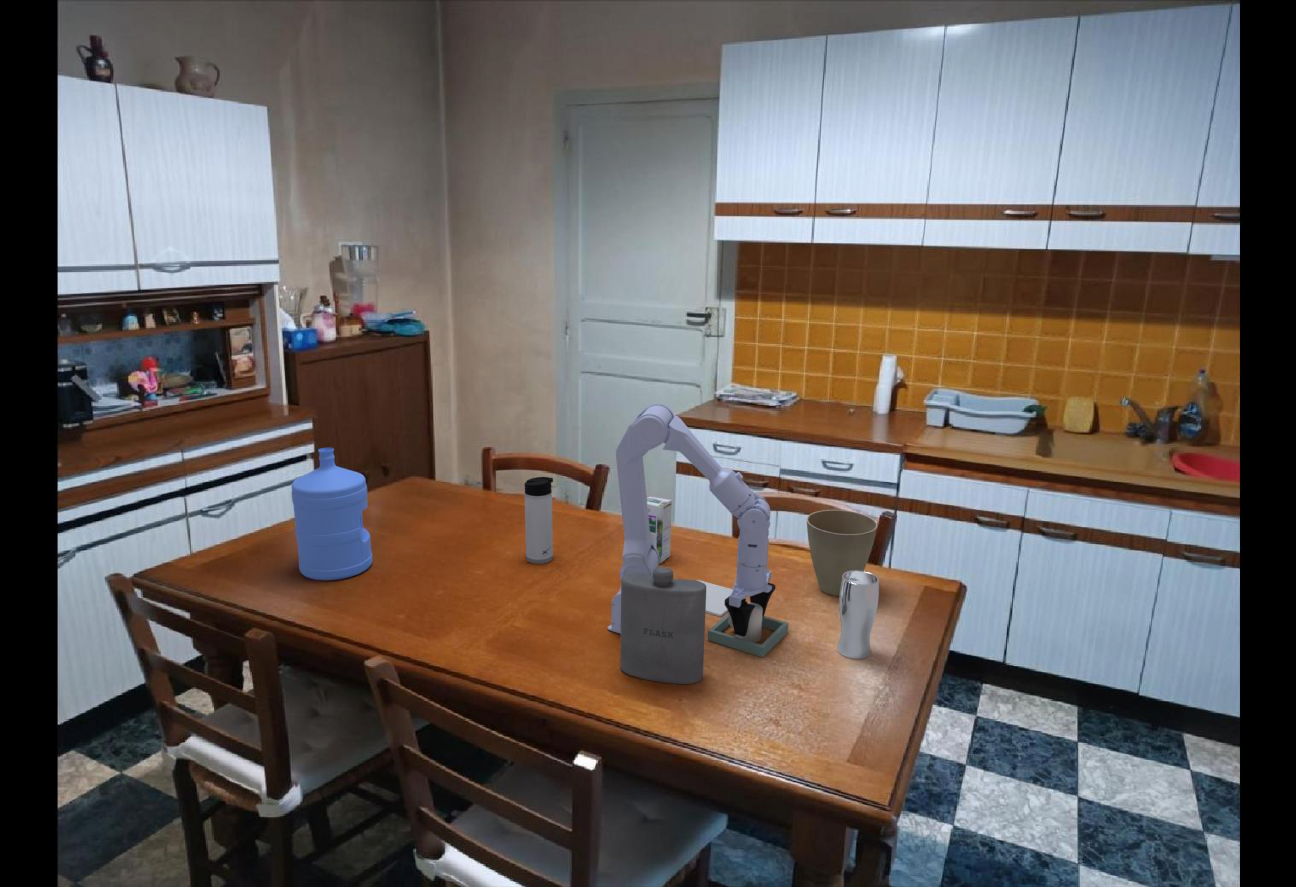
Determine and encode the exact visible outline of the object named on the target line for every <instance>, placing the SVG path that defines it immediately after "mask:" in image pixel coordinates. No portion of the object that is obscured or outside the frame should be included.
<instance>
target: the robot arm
mask: <svg viewBox="0 0 1296 887" xmlns="http://www.w3.org/2000/svg"><path fill="white" fill-rule="evenodd" d="M662 444H664V446H663V447H662V450H665V451H671V452H672V451H673V452H679V453H680V454H682V455H683V457H684V458H686V459H687V461H689V462H690V463H691V464H692V465H693V466H694V468H696V469H697V470H698V471H699V472H700V473H701V474H702V475H703V476H704V477H705V478H706V479H707V480H708V481H709V487H708V488H709V491H710V493H712V495H714V498H716V499H717V500H718V501H719V502H720V503H721V504H722V505H723V506H724V507H725V508H726V509H727V511H728V512H729V513H730V514H731V515H732V516H734V517H736V518H737V519H736V520H737V522H736V523H737V526H738V529H739V536H738V538H737V555H736V557H737V558H736V575H735V581H734V584H733V587H732V589H733V591H732V594H731V595H730V596H729V597H728V598H726V599H725V606H726V608H727V610H728V611H727V613H729V614H730V616H731V620H732V624H733V626H732V628H733V632H734V635H735V634H736V635H740V636H743V637H745V636H746V633H747V630H748V624H749V619H750V616H751V613H752V611H753V609H754V608H755V605H751V604H748V603H747V602H748V601H747V598H749V602H752V603H756V604H759V605H760V606H761V607H762V608H763V614H762V620H763V617H764V616H765V613H766V610H767V607H768V603H769V601H770V599H771V597H772V595H773V593H774V591H776V584H774V583H771V582H770V581H771V580H772V570H769V569H768V561H769V560H768V559H769V558H768V557H769V543H770V541H769V535H770V533H769V532H770V531H769V529H770V526H771V521H770V520H771V507H770V504H769V503H768V501H767V499H766V498H765V497H763V496H761V495H760V494H759V492H754V491H753V490H752V488H750V487H749V486H748V485H747V484H746V483H745V482H744V480H743V477H744V476H743V475H742V473H741V472H740V471H738V472H735V471H734V470H733V468H732V469H731V468H726V467H725V468H723V467H722V466H721V465H720V464H719V462H717V460H716V459H715V458H714V457H713V456H712V455H711V454H710V452H709V451H708V450H707V449H706V447H705V446H704V445H703V444H702V443H701V442H700V441H699V439H698V438H697V437H696V436H695V434H694V433H693V432H692V431H691V430H690V429H689V427H688V426H687V425H686V424H685V422H684V421H683V419H681V418H680V417H679V416H677V415H674V413H673V411H672V410H671V409H670V408H669V406H667V405H665V404H663V403H652V404H651V405H649V406H648V407H646V408H645V409H644V410H643V411H641V412H640V413H639V414H638V415H637V416H636V418H635V419H634V420H633V421H632V423H630V424H629V425H628V426H627V428H626V431H625V433H624V435H623V437H622V439H621V440H620V442H619V443H618V445H617V447H616V450H615V459H616V460H615V461H616V470H617V478H618V488H619V489H618V490H619V495H620V496H619V497H620V506H621V507H620V508H621V517H622V526H623V535H624V543H623V550H622V564H621V567H620V569H619V579H620V580H621V579H622V577H623V576H625V575H627V574H630V573H642V574H646V575H651V576H653V570H654V569H655V568H657V567H659V565H660V564H659V562H660V556H659V553H658V551H657V550H656V548H655V546H654V542H653V537H652V536H651V534H650V528H649V517H648V507H647V498H648V496H647V489H646V488H647V487H646V478H645V477H646V476H645V468H644V466H645V465H644V457H645V455H646V454H647V453H648V452H649V451H651V450H653V449H655V448H657V447H659V446H661V445H662ZM610 613H611V615H610V616H611V617H610V618H611V624H610V625H608V626H607V629H608V631H611V632H614V633H616V634H620V635H621V587H620V588H619V590H618V592H617V594H615V595H613V597H612V600H611V612H610Z"/></svg>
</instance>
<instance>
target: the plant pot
mask: <svg viewBox="0 0 1296 887" xmlns="http://www.w3.org/2000/svg"><path fill="white" fill-rule="evenodd" d="M878 525H879V524H878V523H877V521H876V519H874V518H872V517H871V516H868V515H866V514H864V513H860V512H856V511H852V510H851V511H850V510H845V509H843V510H842V509H823V510H819V511H813V512H811V513H810V514H808V515H807V517H806V531H807V540H808V546H809V552H810V558H811V563H812V566H813V570H814V574H815V577H816V580H817V583H818V587H819V589H820V590H821V591H822V592H823V593H825V594H827V595H830V596H835V597H839V595H840V587H841V582H842V575H843V574H844V573H845V572H847V571H853V570H859V571H865V569H866V567H867V563H868V561H869V558H870V554H871V552H872V549H873V545H874V542H875V538H876V534H877V530H878Z"/></svg>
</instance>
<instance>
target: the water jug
mask: <svg viewBox="0 0 1296 887" xmlns="http://www.w3.org/2000/svg"><path fill="white" fill-rule="evenodd" d="M334 451H335V449H334V448H333V447H322V448H319V449H318V451H317V452H318V453H319V456H318V460H319V467H318V468H316V469H314V470H312V471H309V472H307V473H305V474H304V475H302V476H300V477H297V478H296V479H294V481H292V483H291V501H292V505H293V512H294V513H293V514H294V515H293V516H294V523H295V524H294V525H295V526H294V528H295V529H294V532H295V537H296V543H297V552H298V554H297V555H298V568H299V569H298V570H299V572H300V574H302V575H303V576H304V577H306V578H308V579H312V580H315V581H337V580H344V579H348V578H351V577H353V576H357V575H359V574H362V573H364V572H365V571H367V570H368V569H369V568H370V567H371V566H372V564H373V551H372V544H371V535H370V532H369V531H368V530H367V529H366V528H365V527H364V523H363V522H364V521H363V520H364V519H363V511H365V510H366V509H367V508H368V486H367V483H366V481H367V480H366V477H365V476H364V474H362V473H360V472H359V471H358V472H357V471H353V470H350V469H347V468H344V467H341V466H337V465H336V463H335V455H334Z"/></svg>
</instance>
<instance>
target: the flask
mask: <svg viewBox="0 0 1296 887" xmlns="http://www.w3.org/2000/svg"><path fill="white" fill-rule="evenodd" d="M697 580H698V579H697ZM697 580H696V579H688V578H687V579H685V578H684V579H683V578H674V570H673V569H671V568H670V567H668V566H657V568H655V569H654V570H653V576H651V575H646V574H642V573H630V574H627V575H625V576H623V577H622V579H620V588H621V634H620V655H619V656H620V666H619V668H620V670H621V672H623V673H624V674H626V675H629V676H631V677H634V678H638V679H640V680H641V679H642V680H646V681H651V682H657V683H663V684H664V683H665V684H676V685H693V684H696V683H699V682H700V681H702V680H703V678H704V660H705V659H704V656H705V636H706V635H705V634H706V613H705V612H706V585H705V584H704V583H702V582H700V581H701V580H700V581H697Z"/></svg>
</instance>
